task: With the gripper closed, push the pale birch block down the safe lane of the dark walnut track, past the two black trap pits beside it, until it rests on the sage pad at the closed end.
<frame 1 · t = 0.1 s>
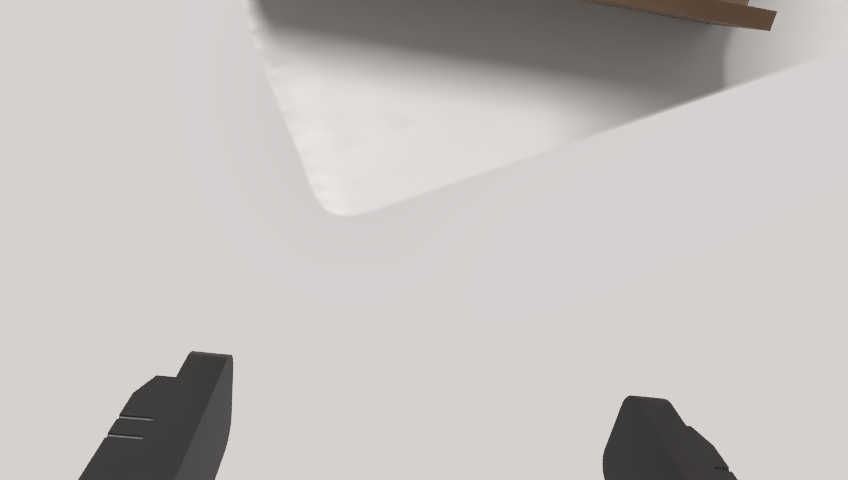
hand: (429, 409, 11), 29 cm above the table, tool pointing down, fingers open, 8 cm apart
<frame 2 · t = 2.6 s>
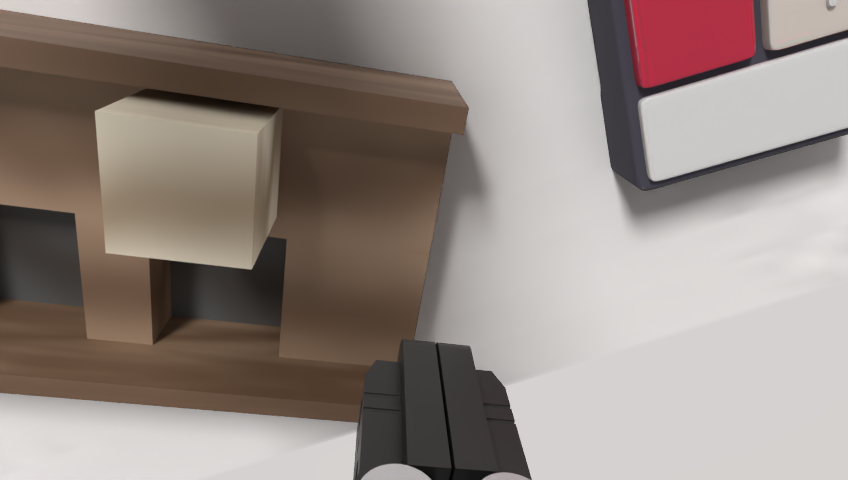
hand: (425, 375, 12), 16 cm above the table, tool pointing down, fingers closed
trap track: (106, 189, 27), on the table
birch block: (219, 154, 23), point 3 cm above the table, touching trap track
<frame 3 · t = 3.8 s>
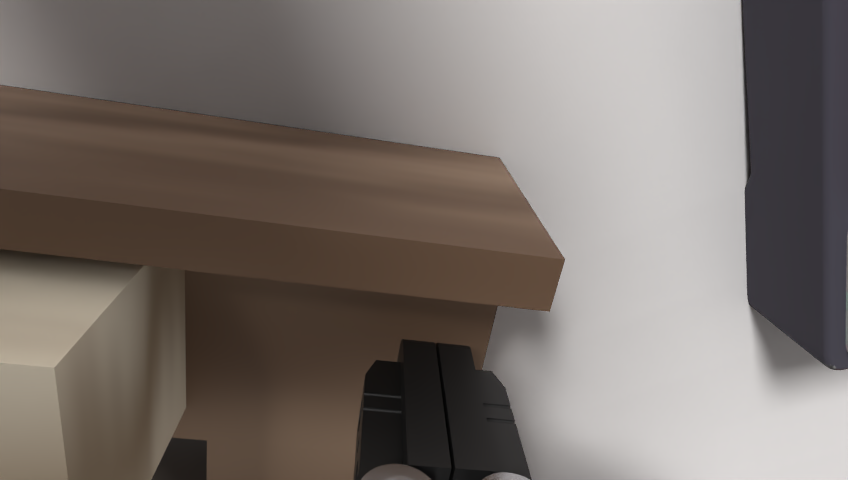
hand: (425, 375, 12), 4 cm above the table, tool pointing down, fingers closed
birch block: (68, 308, 12), point 3 cm above the table, touching trap track
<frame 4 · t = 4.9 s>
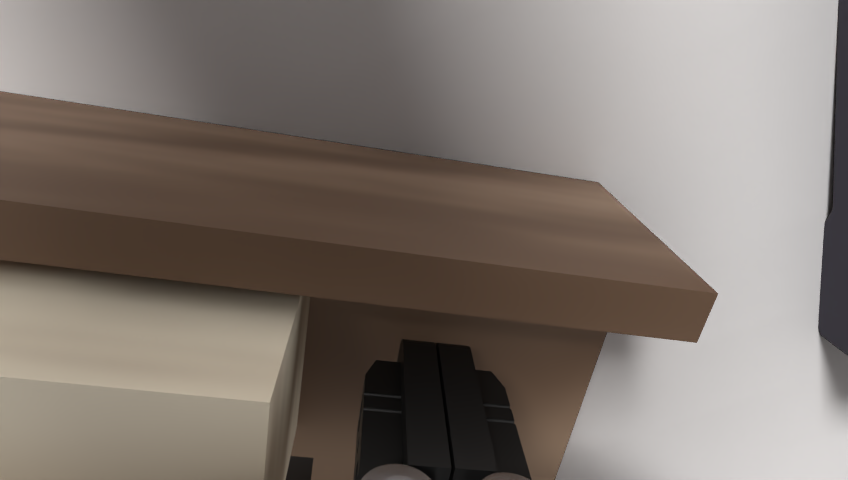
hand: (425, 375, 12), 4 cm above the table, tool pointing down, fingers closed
trap track: (10, 351, 16), on the table
birch block: (194, 330, 13), point 3 cm above the table, touching gripper, trap track
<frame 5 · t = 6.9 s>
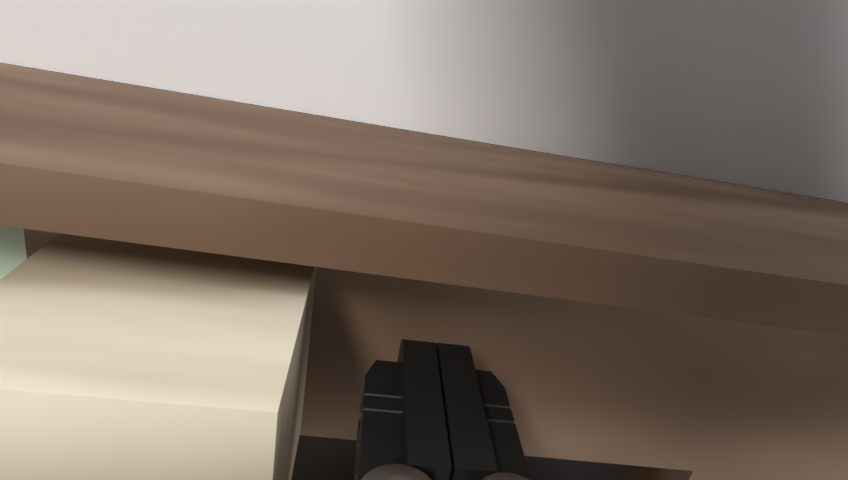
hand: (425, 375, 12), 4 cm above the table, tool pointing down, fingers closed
trap track: (376, 369, 17), on the table
birch block: (199, 335, 13), point 3 cm above the table, touching gripper, trap track
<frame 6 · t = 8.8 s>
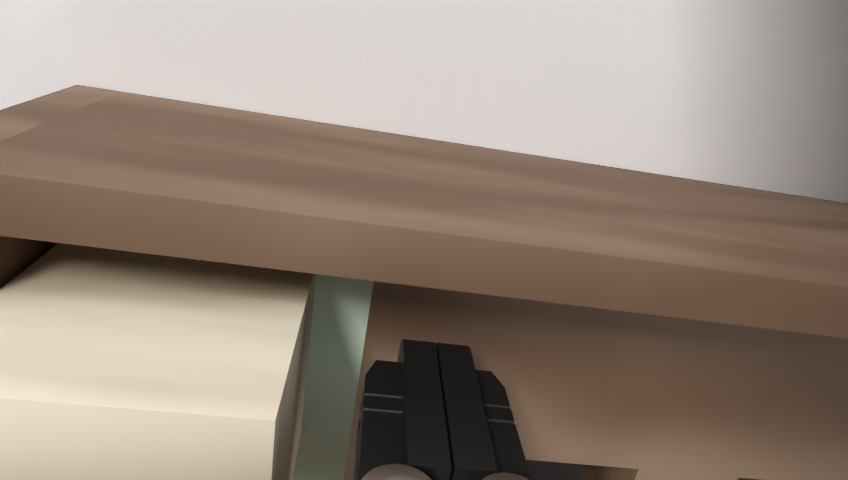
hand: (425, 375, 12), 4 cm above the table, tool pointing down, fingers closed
trap track: (601, 396, 18), on the table
birch block: (199, 341, 13), point 3 cm above the table, touching gripper, trap track
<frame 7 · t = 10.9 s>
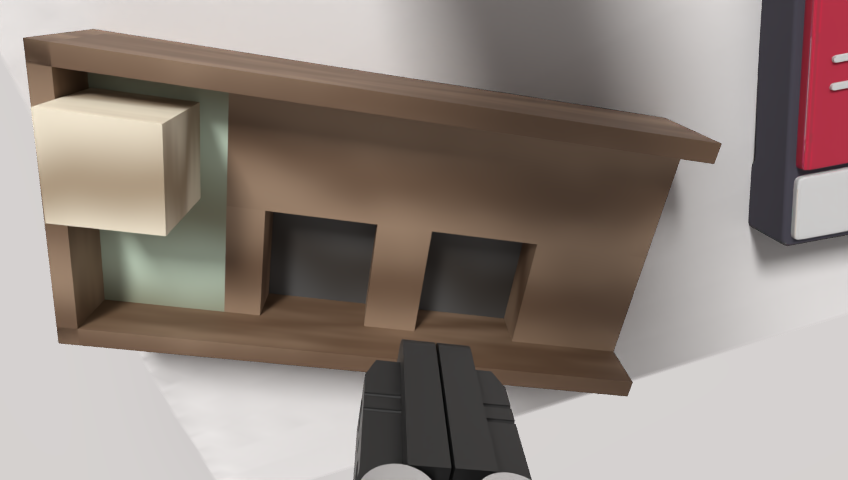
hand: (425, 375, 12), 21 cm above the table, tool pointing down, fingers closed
trap track: (378, 205, 33), on the table
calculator: (843, 89, 33), on the table
birch block: (148, 145, 28), point 3 cm above the table, touching trap track
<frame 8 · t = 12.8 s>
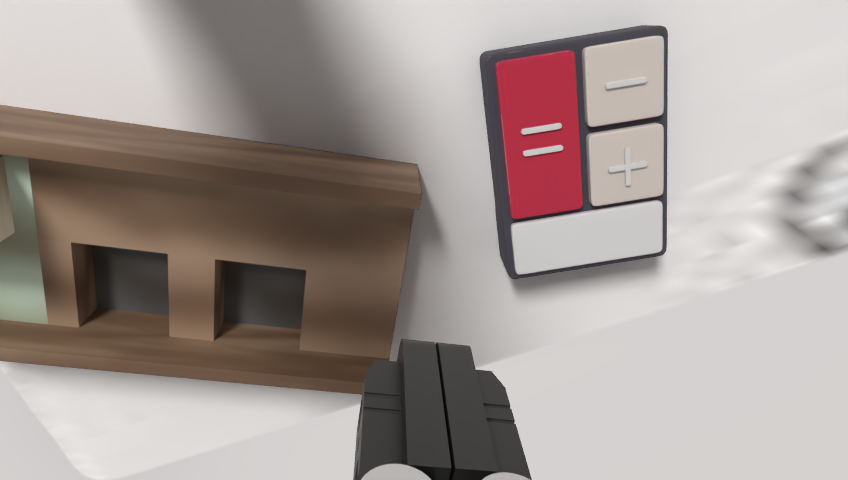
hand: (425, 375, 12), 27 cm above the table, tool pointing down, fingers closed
trap track: (183, 235, 40), on the table
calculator: (567, 149, 39), on the table
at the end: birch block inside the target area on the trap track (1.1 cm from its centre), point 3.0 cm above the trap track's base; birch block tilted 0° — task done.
